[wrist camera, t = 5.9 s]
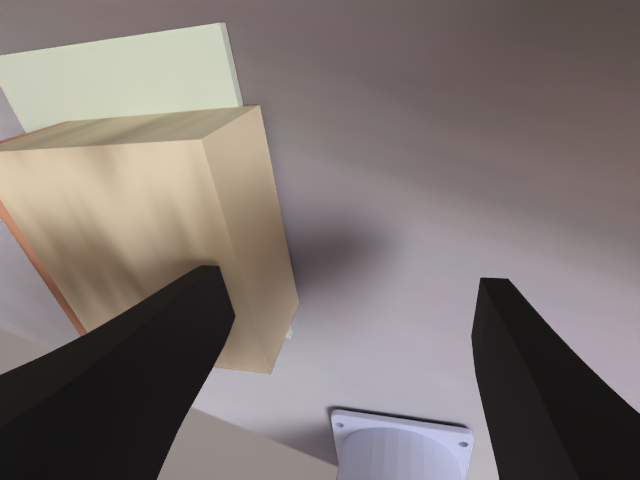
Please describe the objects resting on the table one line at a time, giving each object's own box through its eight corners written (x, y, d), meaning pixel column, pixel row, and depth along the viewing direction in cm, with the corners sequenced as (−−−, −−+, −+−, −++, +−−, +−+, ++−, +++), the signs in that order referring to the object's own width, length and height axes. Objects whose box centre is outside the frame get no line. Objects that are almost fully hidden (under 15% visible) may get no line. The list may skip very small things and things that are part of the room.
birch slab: (270, 374, 13) (91, 352, 15) (298, 303, 17) (148, 292, 19) (201, 139, 9) (-42, 153, 11) (259, 104, 12) (64, 121, 14)
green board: (292, 332, 18) (290, 338, 18) (134, 317, 21) (130, 322, 21) (224, 22, 11) (219, 22, 11) (-5, 56, 14) (-16, 57, 13)
